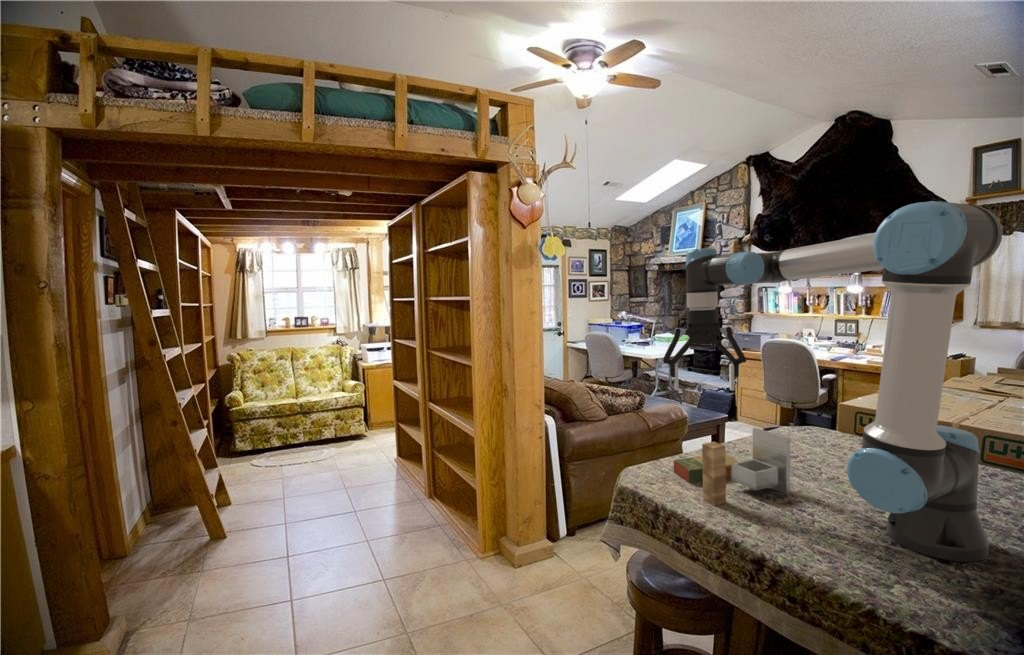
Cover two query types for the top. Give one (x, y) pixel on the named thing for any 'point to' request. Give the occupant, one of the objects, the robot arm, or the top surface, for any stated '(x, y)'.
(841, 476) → the top surface
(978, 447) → the robot arm
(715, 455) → the block
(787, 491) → the bracket
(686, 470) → the carton
